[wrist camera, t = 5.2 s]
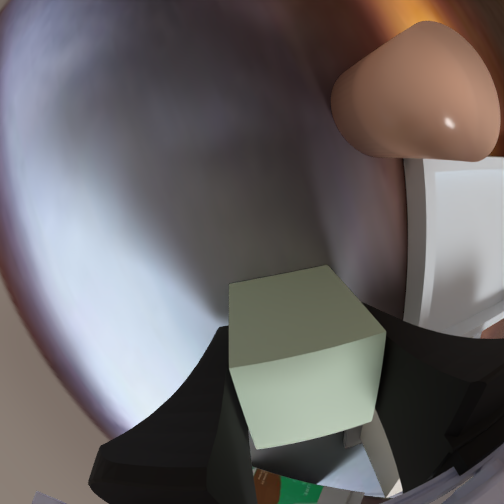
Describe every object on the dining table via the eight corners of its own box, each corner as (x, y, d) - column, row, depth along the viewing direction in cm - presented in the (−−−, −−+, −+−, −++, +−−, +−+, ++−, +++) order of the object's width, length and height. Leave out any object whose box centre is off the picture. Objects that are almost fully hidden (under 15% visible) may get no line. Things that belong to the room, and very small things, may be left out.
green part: (327, 264, 11) (386, 331, 6) (331, 342, 12) (371, 421, 7) (229, 283, 11) (229, 368, 6) (247, 360, 12) (256, 449, 7)
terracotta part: (403, 70, 9) (481, 40, 4) (419, 155, 10) (507, 162, 5) (321, 64, 9) (382, 7, 4) (340, 161, 10) (420, 163, 5)
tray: (514, 157, 10) (530, 159, 9) (502, 302, 13) (514, 310, 12) (403, 156, 10) (422, 157, 8) (398, 351, 13) (410, 365, 12)
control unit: (479, 314, 13) (538, 363, 7) (452, 395, 15) (489, 443, 10) (349, 367, 13) (398, 460, 7) (342, 442, 15) (368, 510, 9)
